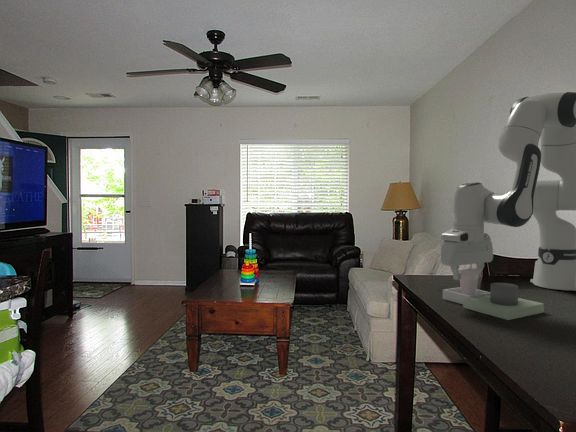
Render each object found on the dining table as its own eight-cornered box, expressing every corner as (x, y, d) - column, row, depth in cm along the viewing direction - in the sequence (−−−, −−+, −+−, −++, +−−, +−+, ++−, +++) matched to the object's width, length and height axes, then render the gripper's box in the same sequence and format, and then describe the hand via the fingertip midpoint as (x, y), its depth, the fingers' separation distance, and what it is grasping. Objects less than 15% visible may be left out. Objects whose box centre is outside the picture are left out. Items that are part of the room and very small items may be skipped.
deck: (470, 294, 135) (470, 272, 135) (543, 312, 114) (544, 286, 114) (436, 299, 128) (436, 276, 128) (508, 320, 107) (508, 292, 106)
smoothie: (482, 302, 123) (483, 256, 123) (460, 301, 124) (461, 256, 124) (475, 297, 130) (476, 254, 129) (455, 296, 131) (455, 253, 130)
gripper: (481, 232, 134) (480, 273, 135) (437, 234, 125) (436, 279, 125) (498, 233, 128) (497, 276, 129) (454, 236, 119) (453, 282, 120)
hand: (467, 278), depth 127 cm, fingers open, 8 cm apart
